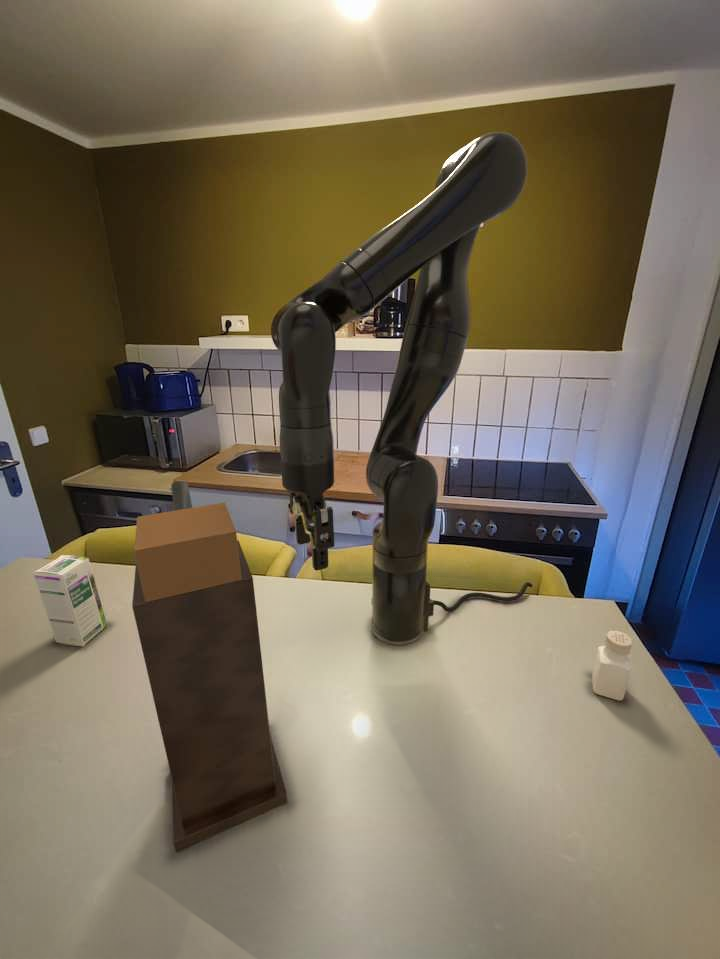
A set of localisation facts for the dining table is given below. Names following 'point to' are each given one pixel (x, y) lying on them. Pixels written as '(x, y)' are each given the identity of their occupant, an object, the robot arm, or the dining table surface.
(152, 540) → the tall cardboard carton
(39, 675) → the dining table surface
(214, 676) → the brown wooden tall block
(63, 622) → the syrup box
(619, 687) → the pepper shaker
